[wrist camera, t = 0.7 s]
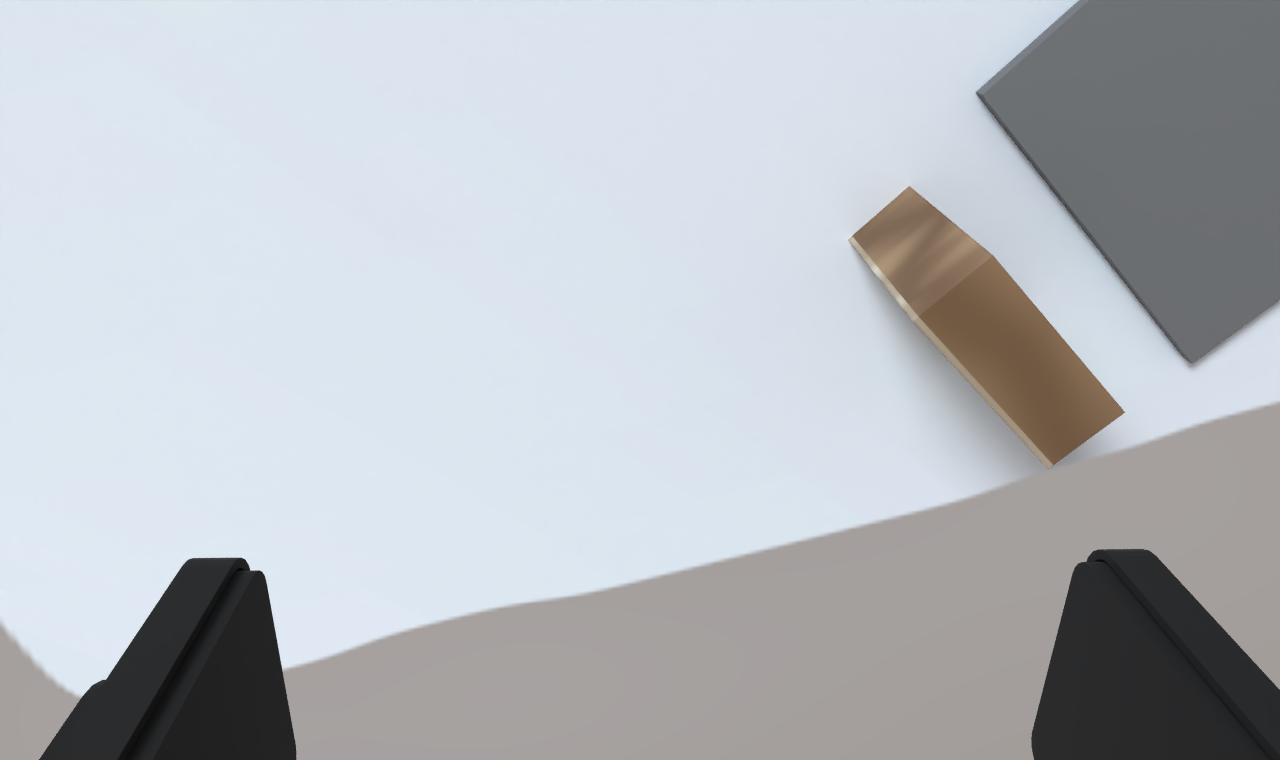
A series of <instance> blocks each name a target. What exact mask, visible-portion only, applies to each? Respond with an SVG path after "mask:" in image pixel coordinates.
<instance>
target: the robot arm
mask: <svg viewBox="0 0 1280 760" xmlns="http://www.w3.org/2000/svg"><path fill="white" fill-rule="evenodd" d="M1031 739H1032V752H1033V756H1034V760H1280V690H1279V689H1278V688H1277V687H1276V686H1275V684H1274V683H1273V682H1272V681H1271V680H1270V679H1269V678H1268V677H1267V676H1266V675H1265V674H1264V672H1262V670H1261V669H1260V668H1259V667H1258V666H1257V665H1256V664H1255V663H1254V662H1253V661H1252V659H1251V658H1250V657H1249V656H1248V655H1247V654H1246V653H1245V652H1244V651H1243V650H1242V649H1241V648H1240V646H1239V645H1237V643H1236V642H1235V641H1234V640H1233V639H1232V638H1231V637H1230V636H1229V635H1228V634H1227V632H1226V631H1225V630H1224V629H1223V628H1222V627H1221V626H1220V625H1219V624H1218V623H1217V622H1216V620H1215V619H1214V618H1213V617H1212V616H1211V615H1210V614H1209V613H1208V612H1207V611H1206V610H1205V609H1204V607H1203V606H1202V605H1201V604H1200V603H1199V602H1198V601H1197V600H1196V599H1195V598H1194V597H1193V595H1191V593H1190V592H1189V591H1188V590H1187V589H1186V588H1185V587H1184V586H1183V585H1182V584H1181V582H1180V581H1179V580H1178V579H1177V578H1176V577H1175V576H1174V575H1173V574H1172V573H1171V572H1170V571H1169V570H1168V568H1167V567H1166V566H1165V565H1164V564H1163V563H1162V562H1161V561H1160V560H1159V559H1158V558H1157V556H1155V555H1154V554H1153V553H1152V552H1150V551H1148V550H1144V549H1109V550H1108V549H1106V550H1096V551H1093V552H1092V553H1091V555H1090V556H1089V557H1088V559H1087V562H1082V563H1079V564H1078V565H1077V566H1076V567H1075V569H1074V572H1073V574H1072V578H1071V582H1070V586H1069V590H1068V594H1067V598H1066V602H1065V606H1064V609H1063V613H1062V617H1061V621H1060V625H1059V629H1058V633H1057V637H1056V641H1055V645H1054V649H1053V653H1052V656H1051V660H1050V664H1049V668H1048V672H1047V676H1046V680H1045V684H1044V688H1043V692H1042V696H1041V700H1040V704H1039V708H1038V711H1037V715H1036V719H1035V723H1034V727H1033V731H1032V738H1031ZM39 760H296V745H295V739H294V733H293V728H292V722H291V717H290V712H289V706H288V700H287V694H286V689H285V684H284V678H283V672H282V666H281V661H280V655H279V650H278V644H277V639H276V633H275V627H274V622H273V616H272V611H271V605H270V600H269V594H268V588H267V583H266V579H265V576H264V574H263V572H261V571H250V568H249V565H248V563H247V562H246V560H245V559H243V558H192V559H189V560H187V561H186V562H185V564H184V565H183V566H182V567H181V569H180V570H179V572H178V573H177V575H176V576H175V578H174V579H173V581H172V582H171V584H170V585H169V587H168V588H167V590H166V591H165V593H164V594H163V596H162V597H161V599H160V600H159V602H158V603H157V605H156V606H155V608H154V609H153V611H152V612H151V614H150V615H149V617H148V618H147V619H146V621H145V622H144V624H143V625H142V627H141V628H140V630H139V631H138V633H137V634H136V636H135V637H134V639H133V640H132V642H131V643H130V645H129V646H128V648H127V649H126V651H125V652H124V654H123V655H122V657H121V658H120V660H119V661H118V663H117V664H116V666H115V667H114V669H113V670H112V672H111V673H110V675H109V676H108V678H107V679H106V680H101V681H100V682H98V683H96V684H94V685H92V686H91V687H90V689H89V690H88V691H87V692H86V693H85V694H84V695H83V697H82V698H81V699H80V701H79V703H78V704H77V705H76V707H75V708H74V710H73V711H72V712H71V714H70V715H69V717H68V718H67V720H66V721H65V723H64V724H63V726H62V727H61V729H60V730H59V732H58V733H57V734H56V736H55V737H54V739H53V740H52V742H51V743H50V745H49V746H48V747H47V749H46V750H45V752H44V754H43V755H42V756H41V758H40V759H39Z"/></svg>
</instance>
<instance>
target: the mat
mask: <svg viewBox="0 0 1280 760" xmlns="http://www.w3.org/2000/svg"><path fill="white" fill-rule="evenodd" d="M976 93H977V94H978V96H979V97H980V98H981V100H982V101H983V102H984V103H985V105H986V106H987V107H988V108H989V110H990V111H991V112H992V114H993V115H994V116H995V117H996V119H997V120H998V121H999V122H1000V124H1001V125H1002V126H1003V128H1004V129H1005V130H1006V131H1007V133H1008V134H1009V135H1010V136H1011V138H1012V139H1013V140H1014V142H1015V143H1016V144H1017V145H1018V147H1019V148H1020V149H1021V151H1022V152H1023V153H1024V154H1025V156H1026V157H1027V158H1028V159H1029V161H1030V162H1031V163H1032V165H1033V166H1034V167H1035V168H1036V170H1037V171H1038V172H1039V173H1040V175H1041V176H1042V177H1043V179H1044V180H1045V181H1046V182H1047V184H1048V185H1049V186H1050V187H1051V189H1052V190H1053V191H1054V193H1055V194H1056V195H1057V196H1058V198H1059V199H1060V200H1061V201H1062V203H1063V204H1064V205H1065V207H1066V208H1067V209H1068V210H1069V212H1070V213H1071V214H1072V216H1073V217H1074V218H1075V219H1076V221H1077V222H1078V223H1079V224H1080V226H1081V227H1082V228H1083V230H1084V231H1085V232H1086V233H1087V235H1088V236H1089V237H1090V238H1091V240H1092V241H1093V242H1094V244H1095V245H1096V246H1097V247H1098V249H1099V250H1100V251H1101V252H1102V254H1103V255H1104V256H1105V258H1106V259H1107V260H1108V261H1109V263H1110V264H1111V265H1112V267H1113V268H1114V269H1115V270H1116V272H1117V273H1118V274H1119V275H1120V277H1121V278H1122V279H1123V281H1124V282H1125V283H1126V284H1127V286H1128V287H1129V288H1130V289H1131V291H1132V292H1133V293H1134V295H1135V296H1136V297H1137V298H1138V300H1139V301H1140V302H1141V303H1142V305H1143V306H1144V307H1145V309H1146V310H1147V311H1148V312H1149V314H1150V315H1151V316H1152V318H1153V319H1154V320H1155V321H1156V323H1157V324H1158V325H1159V326H1160V328H1161V329H1162V330H1163V332H1164V333H1165V334H1166V335H1167V337H1168V338H1169V339H1170V340H1171V342H1172V343H1173V344H1174V346H1175V347H1176V348H1177V349H1178V351H1179V352H1180V353H1181V354H1182V356H1183V357H1184V358H1185V359H1187V360H1188V361H1190V362H1191V363H1194V362H1195V361H1196V360H1198V359H1199V358H1200V357H1202V356H1203V355H1204V354H1206V353H1207V352H1209V351H1210V350H1211V349H1213V348H1214V347H1215V346H1217V345H1218V344H1219V343H1221V342H1222V341H1224V340H1225V339H1226V338H1228V337H1229V336H1230V335H1232V334H1233V333H1234V332H1236V331H1237V330H1238V329H1240V328H1241V327H1243V326H1244V325H1245V324H1247V323H1248V322H1249V321H1251V320H1252V319H1253V318H1255V317H1256V316H1258V315H1259V314H1260V313H1262V312H1263V311H1264V310H1266V309H1267V308H1268V307H1270V306H1271V305H1273V304H1274V303H1275V302H1277V301H1278V300H1279V299H1280V0H1079V1H1078V2H1077V3H1076V4H1075V5H1074V6H1073V7H1071V8H1070V9H1069V10H1068V11H1067V12H1066V13H1065V14H1064V15H1062V16H1061V17H1060V18H1059V19H1058V20H1057V21H1056V22H1055V23H1053V24H1052V25H1051V26H1050V27H1049V28H1048V29H1047V30H1046V31H1044V32H1043V33H1042V34H1041V35H1040V36H1039V37H1038V38H1037V39H1035V40H1034V41H1033V42H1032V43H1031V44H1030V45H1029V46H1028V47H1026V48H1025V49H1024V50H1023V51H1022V52H1021V53H1020V54H1019V55H1017V56H1016V57H1015V58H1014V59H1013V60H1012V61H1011V62H1010V63H1008V64H1007V65H1006V66H1005V67H1004V68H1003V69H1002V70H1001V71H999V72H998V73H997V74H996V75H995V76H994V77H993V78H992V79H990V80H989V81H988V82H987V83H986V84H985V85H984V86H983V87H981V88H980V89H979V90H978V91H977V92H976Z"/></svg>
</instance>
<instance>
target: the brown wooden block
mask: <svg viewBox="0 0 1280 760" xmlns="http://www.w3.org/2000/svg"><path fill="white" fill-rule="evenodd" d="M848 240H849V242H850V243H851V244H852V245H853V247H854V248H855V249H856V250H857V252H858V253H859V254H860V255H861V257H862V258H863V259H864V260H865V262H866V263H867V264H868V265H869V267H870V268H871V269H872V270H873V272H874V273H875V274H876V275H877V277H878V278H879V279H880V281H881V282H882V283H883V284H884V286H885V287H886V288H887V289H888V291H889V292H890V293H891V294H892V296H893V297H894V298H895V299H896V301H897V302H898V303H899V304H900V306H901V307H902V308H903V309H904V311H905V312H906V313H907V314H908V316H909V317H910V318H911V319H912V321H913V322H914V323H915V324H916V325H917V326H918V327H919V328H920V330H921V331H922V332H923V333H924V334H925V335H926V336H927V337H928V338H929V339H930V340H931V342H932V343H933V344H934V345H935V346H936V347H937V348H938V349H939V350H940V351H941V353H942V354H943V355H944V356H945V357H946V358H947V359H948V360H949V361H950V362H951V363H952V365H953V366H954V367H955V368H956V369H957V370H958V371H959V372H960V373H961V374H962V376H963V377H964V378H965V379H966V380H967V381H968V382H969V383H970V384H971V385H972V386H973V388H974V389H975V390H976V391H977V392H978V393H979V394H980V395H981V396H982V397H983V399H984V400H985V401H986V402H987V403H988V404H989V405H990V406H991V407H992V408H993V409H994V411H995V412H996V413H997V414H998V415H999V416H1000V417H1001V418H1002V419H1003V420H1004V422H1005V423H1006V424H1007V425H1008V426H1009V427H1010V428H1011V429H1012V430H1013V431H1014V432H1015V434H1016V435H1017V436H1018V437H1019V438H1020V439H1021V440H1022V441H1023V442H1024V443H1025V444H1026V446H1027V447H1028V448H1029V449H1030V450H1031V451H1032V452H1033V453H1034V454H1035V455H1036V457H1037V458H1038V459H1039V460H1040V461H1041V462H1042V463H1043V464H1044V465H1045V466H1046V467H1047V469H1049V468H1050V467H1051V466H1053V465H1054V464H1055V463H1057V462H1058V461H1059V460H1061V459H1062V458H1064V457H1065V456H1066V455H1068V454H1069V453H1070V452H1072V451H1073V450H1074V449H1076V448H1077V447H1079V446H1080V445H1081V444H1083V443H1084V442H1085V441H1087V440H1088V439H1089V438H1091V437H1092V436H1094V435H1095V434H1096V433H1098V432H1099V431H1100V430H1102V429H1103V428H1104V427H1106V426H1107V425H1109V424H1110V423H1111V422H1113V421H1114V420H1115V419H1117V418H1118V417H1119V416H1121V415H1122V414H1123V413H1125V412H1124V411H1123V409H1122V408H1121V407H1120V406H1119V405H1118V403H1117V402H1116V401H1115V400H1114V399H1113V398H1112V396H1111V395H1110V394H1109V393H1108V392H1107V390H1106V389H1105V388H1104V387H1103V386H1102V384H1101V383H1100V382H1099V381H1098V380H1097V379H1096V377H1095V376H1094V375H1093V374H1092V373H1091V371H1090V370H1089V369H1088V368H1087V367H1086V365H1085V364H1084V363H1083V362H1082V361H1081V360H1080V358H1079V357H1078V356H1077V355H1076V354H1075V352H1074V351H1073V350H1072V349H1071V348H1070V346H1069V345H1068V344H1067V343H1066V342H1065V340H1064V339H1063V338H1062V337H1061V336H1060V335H1059V333H1058V332H1057V331H1056V330H1055V329H1054V327H1053V326H1052V325H1051V324H1050V323H1049V321H1048V320H1047V319H1046V318H1045V317H1044V316H1043V314H1042V313H1041V312H1040V311H1039V310H1038V308H1037V307H1036V306H1035V305H1034V304H1033V302H1032V301H1031V300H1030V299H1029V298H1028V297H1027V295H1026V294H1025V293H1024V292H1023V291H1022V289H1021V288H1020V287H1019V286H1018V285H1017V283H1016V282H1015V281H1014V280H1013V279H1012V278H1011V276H1010V275H1009V274H1008V273H1007V272H1006V270H1005V269H1004V268H1003V267H1002V266H1001V264H1000V263H999V262H998V261H997V260H996V258H995V257H994V256H993V255H992V254H991V253H989V252H988V251H987V250H986V249H985V248H983V247H982V246H981V245H980V244H979V243H977V242H976V241H975V240H974V239H972V238H971V237H970V236H969V235H968V234H966V233H965V232H964V231H963V230H962V229H960V228H959V227H958V226H957V225H956V224H954V223H953V222H952V221H951V220H950V219H948V218H947V217H946V216H945V215H943V214H942V213H941V212H940V211H939V210H937V209H936V208H935V207H934V206H933V205H931V204H930V203H929V202H928V201H927V200H925V199H924V198H923V197H922V196H920V195H919V194H918V193H917V192H916V191H914V190H913V189H912V188H911V187H910V186H909V187H908V188H907V189H905V190H904V191H903V192H902V193H901V194H900V195H899V196H897V197H896V198H895V199H894V200H893V201H892V202H891V203H889V204H888V205H887V206H886V207H885V208H884V209H883V210H881V211H880V212H879V213H878V214H877V215H876V216H875V217H873V218H872V219H871V220H870V221H869V222H868V223H867V224H866V225H864V226H863V227H862V228H861V229H860V230H859V231H858V232H856V233H855V234H854V235H853V236H852V237H851V238H850V239H848Z"/></svg>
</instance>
